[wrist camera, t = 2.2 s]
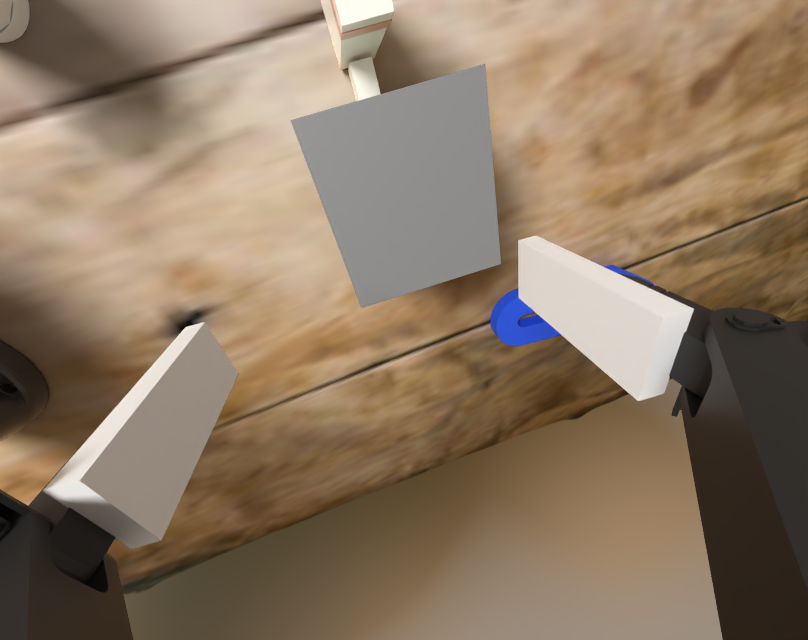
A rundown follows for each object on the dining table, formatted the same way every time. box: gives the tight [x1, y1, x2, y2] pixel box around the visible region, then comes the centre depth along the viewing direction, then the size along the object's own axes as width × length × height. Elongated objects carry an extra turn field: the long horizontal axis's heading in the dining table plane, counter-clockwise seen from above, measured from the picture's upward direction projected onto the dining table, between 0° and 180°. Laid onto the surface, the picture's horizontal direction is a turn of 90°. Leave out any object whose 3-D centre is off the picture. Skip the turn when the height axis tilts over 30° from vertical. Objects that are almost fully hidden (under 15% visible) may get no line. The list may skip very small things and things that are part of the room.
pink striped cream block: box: [321, 0, 394, 101], centre depth 22 cm, size 14×3×11 cm, turn 14°
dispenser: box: [291, 64, 501, 308], centre depth 26 cm, size 13×12×13 cm
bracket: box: [490, 265, 655, 346], centre depth 40 cm, size 18×8×9 cm, turn 100°
